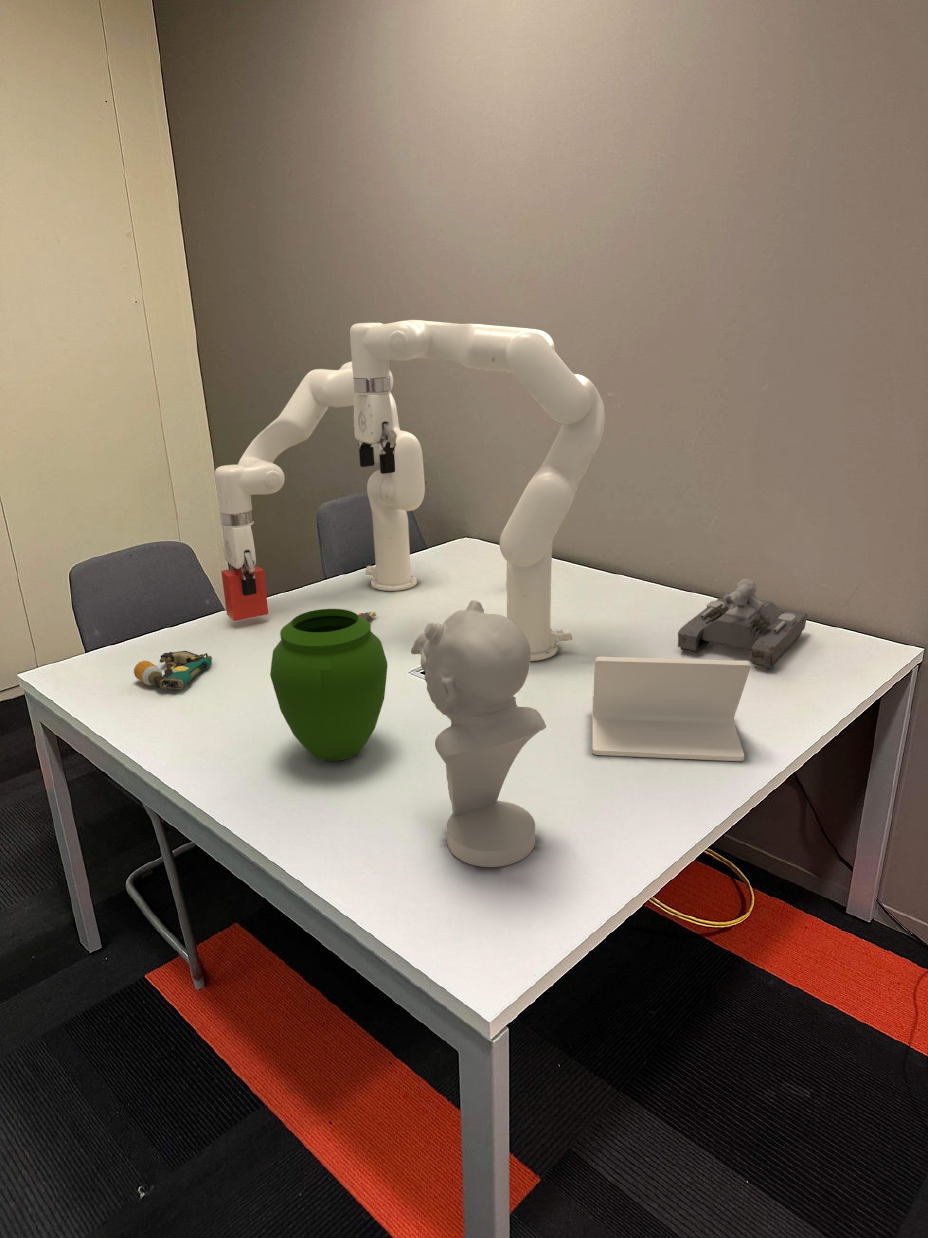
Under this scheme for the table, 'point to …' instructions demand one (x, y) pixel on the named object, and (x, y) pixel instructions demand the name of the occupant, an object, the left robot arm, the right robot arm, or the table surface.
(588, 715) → the table surface
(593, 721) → the tablet stand
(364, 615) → the toy gun
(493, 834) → the bust sculpture
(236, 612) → the block
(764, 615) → the toy
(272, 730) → the table surface
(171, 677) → the spray gun
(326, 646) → the vase
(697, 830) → the table surface
